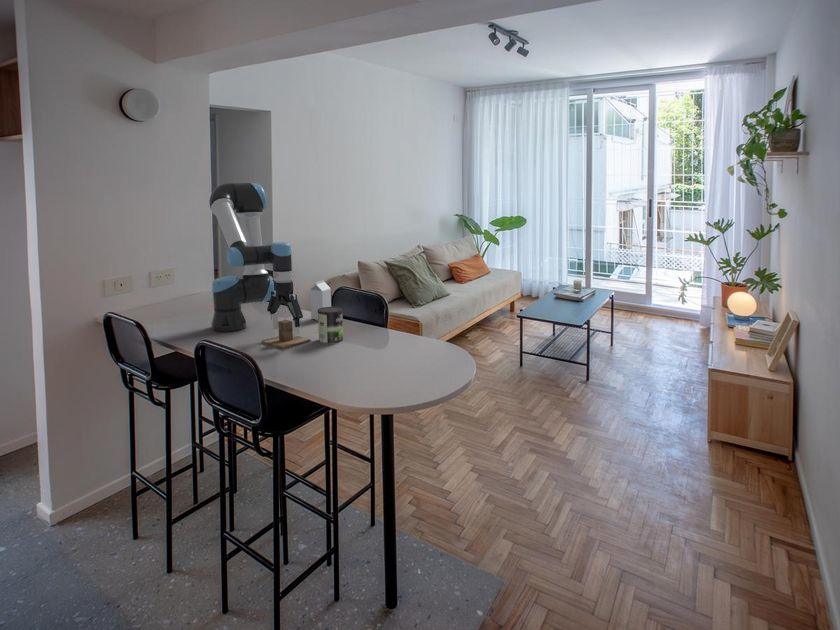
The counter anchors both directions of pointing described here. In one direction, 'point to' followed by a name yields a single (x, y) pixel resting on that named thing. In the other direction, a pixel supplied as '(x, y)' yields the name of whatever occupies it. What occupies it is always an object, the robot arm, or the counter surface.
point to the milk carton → (319, 297)
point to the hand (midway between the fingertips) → (285, 331)
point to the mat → (287, 348)
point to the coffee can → (330, 325)
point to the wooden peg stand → (285, 337)
